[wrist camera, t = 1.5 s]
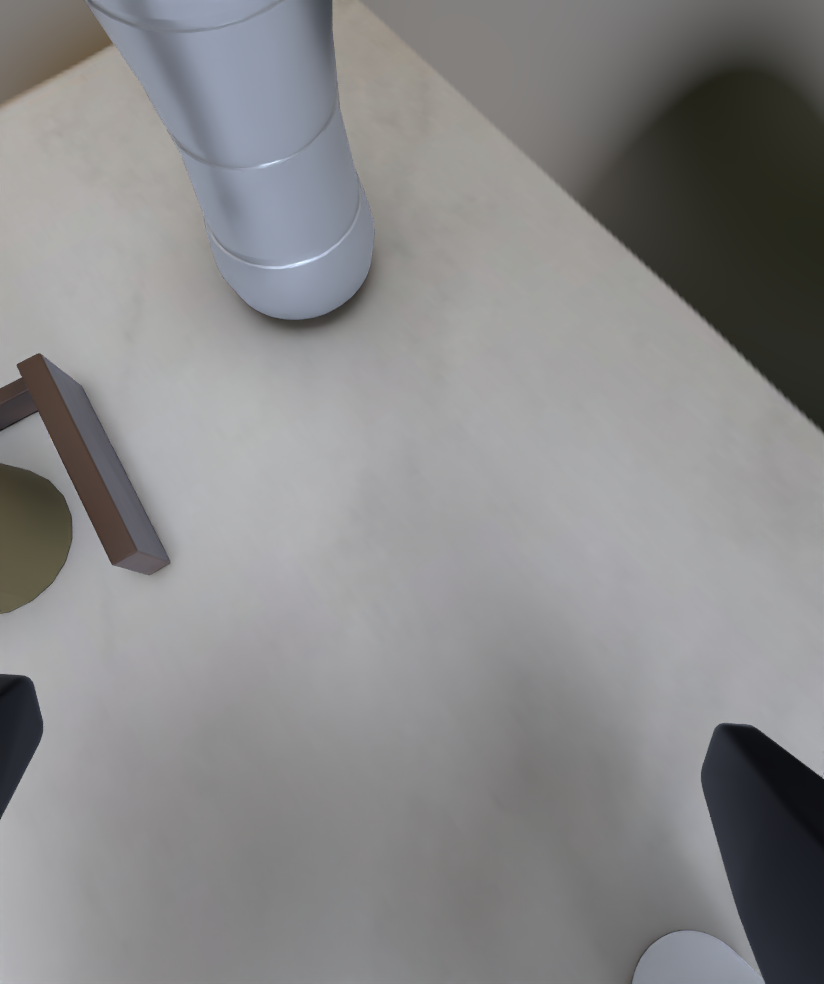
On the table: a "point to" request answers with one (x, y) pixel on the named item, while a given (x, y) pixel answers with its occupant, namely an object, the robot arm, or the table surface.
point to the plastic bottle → (257, 140)
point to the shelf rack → (86, 461)
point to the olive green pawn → (30, 535)
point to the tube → (693, 962)
